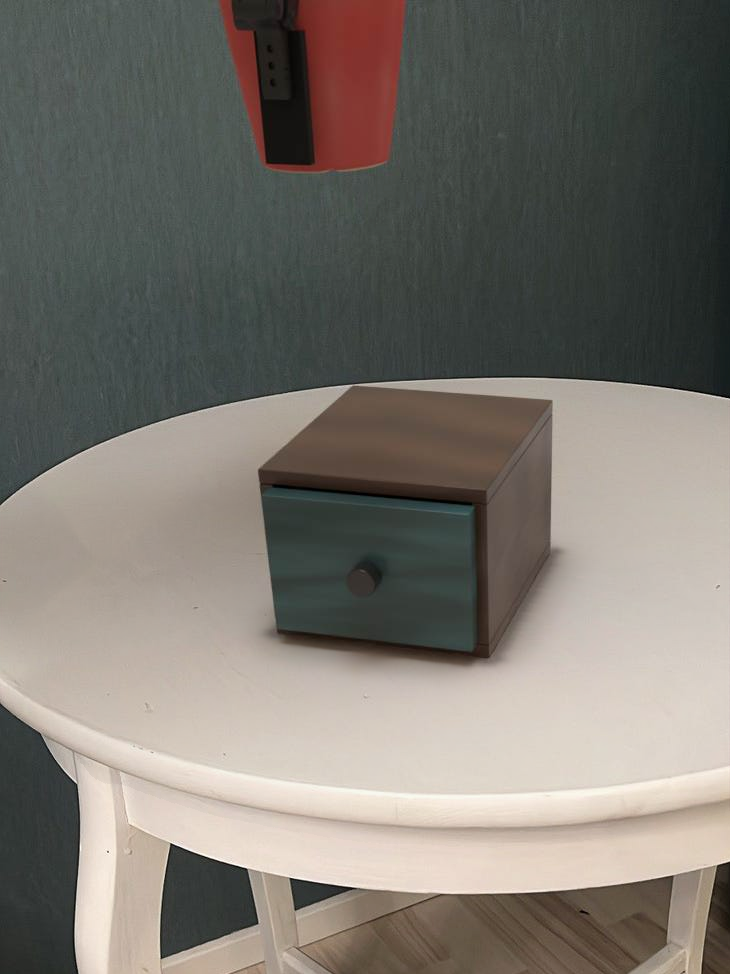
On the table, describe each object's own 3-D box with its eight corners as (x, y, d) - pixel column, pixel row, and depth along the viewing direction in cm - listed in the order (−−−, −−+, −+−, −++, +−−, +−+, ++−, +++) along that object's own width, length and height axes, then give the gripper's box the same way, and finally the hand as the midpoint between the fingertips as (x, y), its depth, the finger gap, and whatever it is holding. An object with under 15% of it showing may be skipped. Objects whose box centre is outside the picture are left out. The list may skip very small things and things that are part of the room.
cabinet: (489, 658, 74) (486, 489, 68) (276, 632, 77) (257, 469, 71) (550, 551, 85) (552, 399, 80) (363, 533, 88) (352, 384, 83)
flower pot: (209, 159, 84) (187, -29, 78) (370, 143, 88) (361, -36, 82) (271, 186, 76) (252, -19, 70) (444, 167, 80) (439, -28, 74)
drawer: (465, 662, 72) (462, 523, 67) (267, 639, 74) (251, 503, 70) (532, 552, 83) (533, 426, 79) (358, 534, 86) (349, 412, 81)
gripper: (272, -376, 59) (315, 185, 72) (424, -322, 76) (436, 120, 89) (115, -367, 60) (186, 180, 73) (300, -316, 78) (330, 117, 91)
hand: (323, 147), depth 81 cm, fingers closed on flower pot, 10 cm apart
